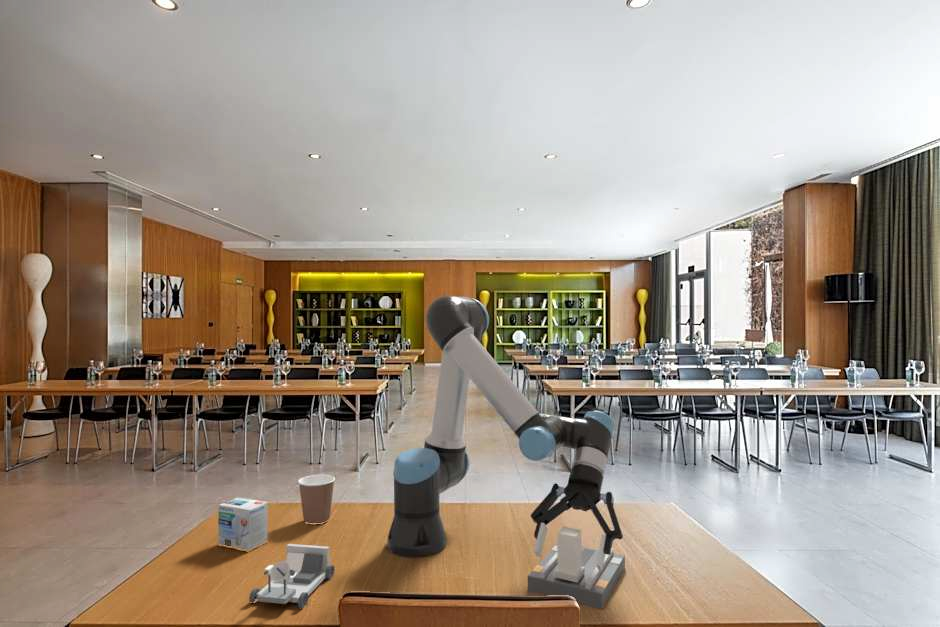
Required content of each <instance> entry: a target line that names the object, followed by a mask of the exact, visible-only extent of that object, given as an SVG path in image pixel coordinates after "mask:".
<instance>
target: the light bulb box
mask: <svg viewBox="0 0 940 627" xmlns="http://www.w3.org/2000/svg"><path fill="white" fill-rule="evenodd" d="M268 504H269V503H268V501H262V500H256V499H250V498H243V497H235V498H233V499H232V498H231V499H230V500H228V501H226V502H223V503H221V504H218V522H217V523H218V526H217V531H218V532H217V535H218V536H217V537H218V538H217V539H218V540H217V542H218V543H217V545H218V544H222V545H227V546H232V547H237V548H241V549H246V550H250V549H252V548H254V547H256V546H258V545H260V544H262V543H264V542H265V541H267V542H268V510H269V509H268Z"/></svg>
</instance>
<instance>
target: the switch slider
mask: <svg viewBox="0 0 940 627" xmlns="http://www.w3.org/2000/svg"><path fill="white" fill-rule="evenodd" d="M556 536H557V538H556V539H557V540H556V543H557V564H558V568H557V569H556V570H555V571H554V572H555V577H556V578H560V579H564V580H568V581H573V582H577V583H578V581H579V580H580V578H581V577H582V576H583V574H584V573H585V567H582V551H581V546H582V529H579V528H578V529H577V528H574V527H573V528H572V527H567V526H562V528H560V530H559V531H557V534H556Z"/></svg>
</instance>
